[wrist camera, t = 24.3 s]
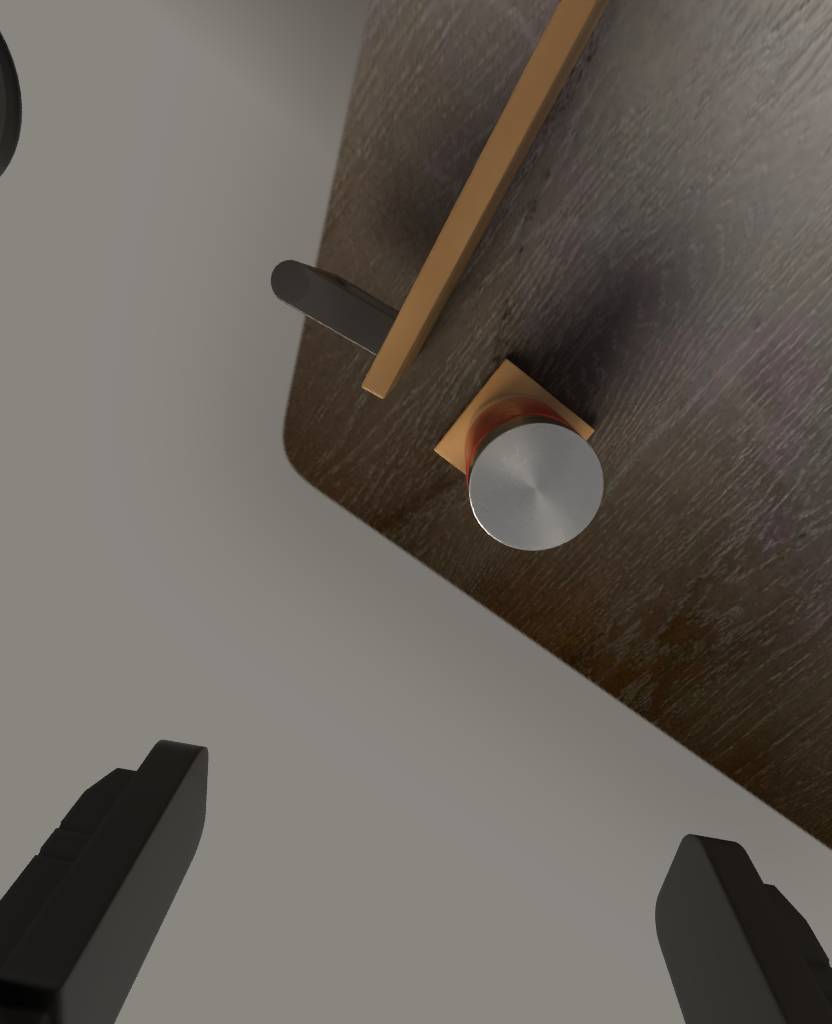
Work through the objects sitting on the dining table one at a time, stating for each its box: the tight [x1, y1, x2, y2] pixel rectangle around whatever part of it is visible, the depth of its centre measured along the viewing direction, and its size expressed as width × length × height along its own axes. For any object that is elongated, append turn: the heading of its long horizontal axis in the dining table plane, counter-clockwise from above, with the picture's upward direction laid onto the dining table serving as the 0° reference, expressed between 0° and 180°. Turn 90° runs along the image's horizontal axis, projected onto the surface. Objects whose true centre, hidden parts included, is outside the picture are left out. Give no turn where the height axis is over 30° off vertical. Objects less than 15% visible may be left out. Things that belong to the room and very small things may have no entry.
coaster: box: [434, 358, 595, 474], centre depth 35 cm, size 7×7×1 cm
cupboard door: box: [271, 0, 610, 399], centre depth 23 cm, size 6×22×16 cm, turn 151°
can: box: [464, 393, 604, 550], centre depth 30 cm, size 6×6×10 cm
